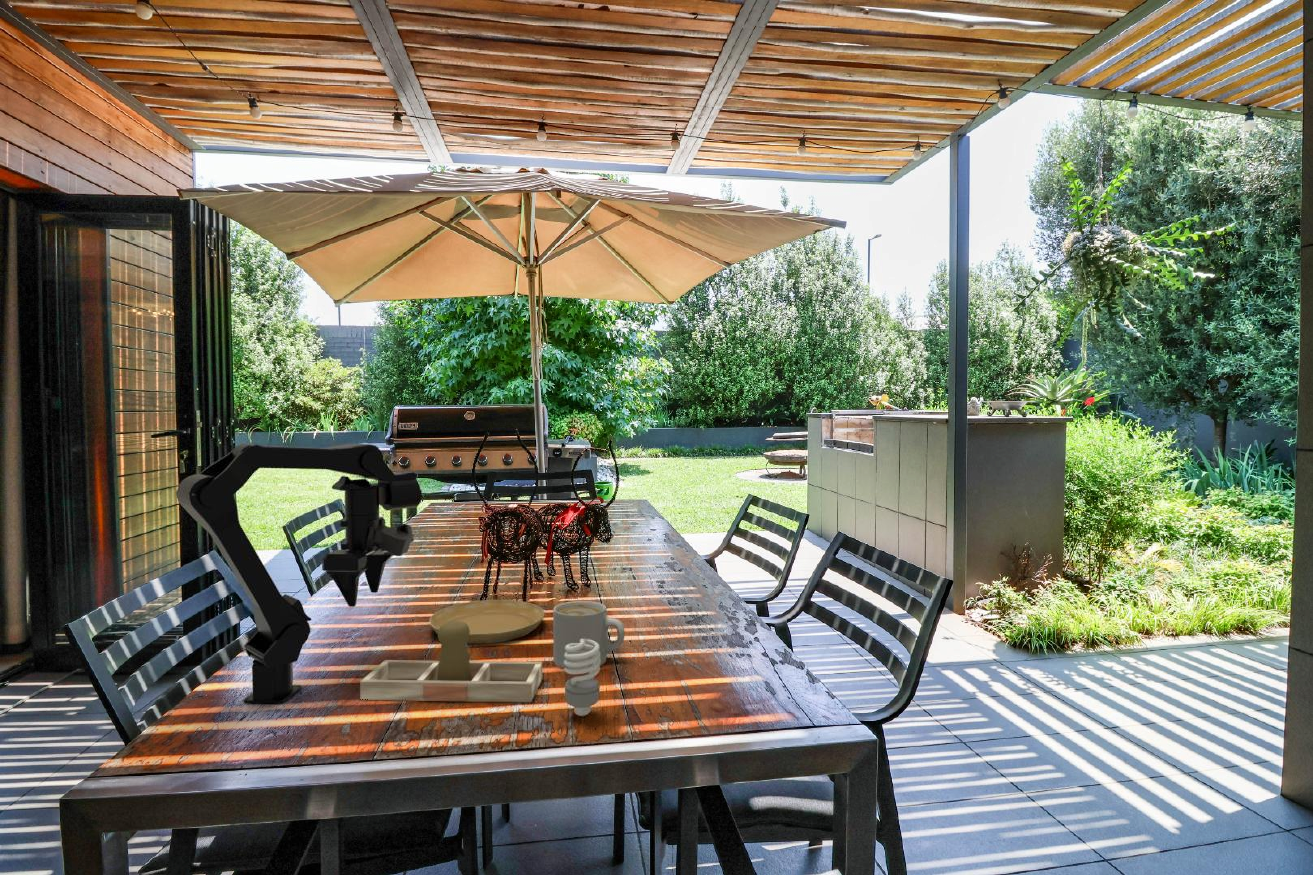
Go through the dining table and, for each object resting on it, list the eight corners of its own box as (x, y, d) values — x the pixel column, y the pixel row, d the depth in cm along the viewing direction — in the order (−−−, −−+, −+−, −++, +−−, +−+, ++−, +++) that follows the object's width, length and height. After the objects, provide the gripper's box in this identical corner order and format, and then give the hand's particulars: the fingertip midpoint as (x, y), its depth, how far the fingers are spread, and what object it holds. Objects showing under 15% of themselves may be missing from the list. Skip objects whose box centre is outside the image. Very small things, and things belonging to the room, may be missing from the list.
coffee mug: (543, 665, 133) (543, 612, 132) (568, 648, 142) (568, 598, 142) (610, 675, 128) (610, 619, 128) (631, 656, 138) (631, 605, 137)
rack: (530, 703, 116) (530, 684, 116) (359, 700, 117) (359, 682, 117) (542, 678, 126) (542, 661, 126) (385, 676, 127) (384, 659, 127)
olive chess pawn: (451, 696, 118) (450, 630, 117) (428, 688, 121) (427, 624, 121) (480, 685, 123) (479, 621, 122) (457, 677, 126) (456, 615, 126)
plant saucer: (508, 654, 140) (507, 637, 139) (405, 641, 147) (404, 625, 147) (563, 619, 162) (563, 605, 162) (471, 609, 170) (471, 595, 170)
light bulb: (582, 705, 115) (582, 631, 115) (608, 715, 112) (608, 639, 111) (556, 717, 111) (556, 640, 110) (582, 727, 107) (582, 648, 107)
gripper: (385, 522, 119) (387, 614, 120) (424, 506, 138) (425, 586, 139) (319, 521, 120) (321, 614, 120) (367, 505, 138) (368, 585, 139)
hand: (363, 599), depth 130 cm, fingers open, 9 cm apart
